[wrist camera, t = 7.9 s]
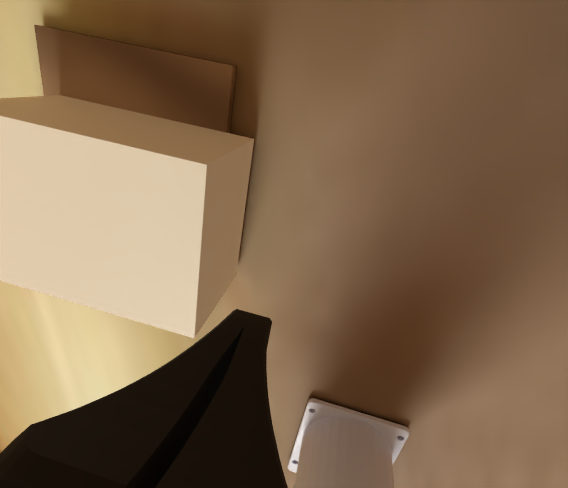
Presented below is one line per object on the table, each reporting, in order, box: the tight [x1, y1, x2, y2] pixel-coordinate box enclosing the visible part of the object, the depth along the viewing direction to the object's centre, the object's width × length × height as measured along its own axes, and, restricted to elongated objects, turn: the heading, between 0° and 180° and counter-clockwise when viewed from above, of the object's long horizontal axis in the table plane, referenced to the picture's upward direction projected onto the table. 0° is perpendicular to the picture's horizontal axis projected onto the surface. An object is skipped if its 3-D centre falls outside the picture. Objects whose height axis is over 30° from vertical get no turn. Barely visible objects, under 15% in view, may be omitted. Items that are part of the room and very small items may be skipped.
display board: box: [35, 25, 237, 133], centre depth 22 cm, size 16×12×1 cm
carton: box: [0, 95, 254, 338], centre depth 19 cm, size 9×6×12 cm
